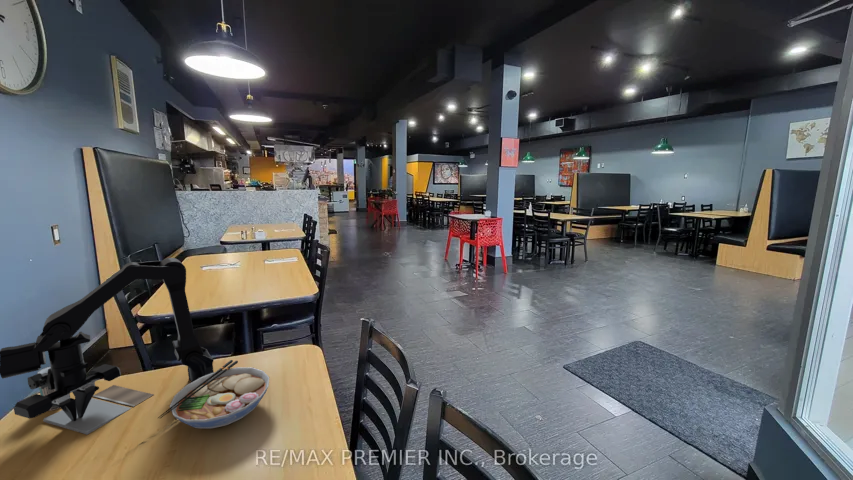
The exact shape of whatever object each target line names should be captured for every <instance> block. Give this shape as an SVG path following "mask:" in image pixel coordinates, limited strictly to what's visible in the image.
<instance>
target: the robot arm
mask: <svg viewBox="0 0 853 480" xmlns="http://www.w3.org/2000/svg"><path fill="white" fill-rule="evenodd" d="M136 280H159V281H160V280H162V281H163V283H164V285H165V287H166V289H167V292H168V294H169V300H170V304H171V308H172V313H173V318H174V323H175V325H176V330H177V340H172V341H171V342H172V344H173V347H174V355H175V357H176V359H177V362H180V361H181V364H182V365H183V366H186V367H187V375H188V379H189V381H190V383H191V382H193V381H195V380H197V379H199V378H201V377H203V376H206V375H208V374H211V373H214V365H213V363H214V359H213V357H212V355H211V354H210V353H209V351H208V349H207V348H204V347H203V346H201V344H200V341H199V340H198V338H197V336H196V334H195V330H194V325H193V321H192V315H191V312H190V306H189V303H188V298H187V292H186V286H187V285H186V284H187V268H186V266H185V265H184V263H182V262H181V261H180V259H177V258H175V257H167V258H164V259H163V260H151V261H143V262H142V261H141V262H140V261H139V262H136V261H135V262H133V261H132V262H127V263H126V264H124V265H123V267H122V268H121V269H119V270H117V272H115V273H114V274H113V275H111V276H109V278H107V279H106V280H105V281H104V282H102V283H101V284H99V285H98V286H97V287H95V288H94V289H93V290H91V291H90V292H89V293H87V294H86V295H85V296H82V298H80V299H79V300H78V301H75V302H73V303H70V304H68V305H66V306H65V307H63V308H61V309H59V310H57V311H56V312H54V313H52V314H50V315H49V316H47V318H46V320H45V322H44V325H43V327H42V332H41V333H40V335H38V336H37V338H36V341H33V342H30V343H25V344H21V345H16V346H7V347H3V348H1V349H0V377H1V378H2V380H4V379H8V378H12V377H16V376H17V377H18V376H20V375H24V374H28V373H32V372H38V371H39V370H41V369H42V365H47V364H46V363H47V358H46V357H47V356H46V355H47V354H46V352H47V353H48V359H49V364H50V365H49V366H51V368H50V369H48V373H47V374H45V375H41V374H40V373H39V374H37V373H36V374H33V375H31V376H28V377H27V385H28V388H29V389H31V390H35V389H39V387H41V389H44V388H45V387H48V389H49V390H53V389H55V392H52V393H50V394H48V395H46V396H42V395H40V393H39V394H38V393H35V394H33V395H31V396H28V397H27V398H24V399H22V400H19V401H17V402H16V403H15V404H14V407H13V411H14V415H15V416H19V417H22V418H25V419H26V418H27V419H33V418H36V417H38V416H41V415H42V414H45V413H47V412H50V411H49V410H50V409H51V407H52V406H55V407H59V408H58V409H61V410H63V411H64V412H65V413H66V414H67V416H68V417H69V418H70V419H71V420H72V421H76V419H77V415H78V417H79V418H82V417H83V415H84V413H85V411H86V409H87V406H88V404H89V402H90V400H91V398H94V397H93V395H95V394H96V392H97V391H99V390H100V387H99V386H97V385H96V382H98V381H100V380H101V379H104V381H107V382H111V381H113V380H115V379H117V378H120V377H121V375H122V373H121V369H120V367H118V366H116V365H111V364H106V363H105V364H102V365H99V366H97V367H95V368H93V369H91V370H90V371H89V372H88V376H87V371H86V368H88V367H89V363H88V362H85V360H84V355H83V348H82V344H86V343H90V342H91V335H90V334H87V333H84V332H83V331H79V330H80V329H81V328H82V327H83V326H84V325H85V323H86V322H87V321H88V320H89V318H90V317H91V316H92V315H93V314H94V313H95V311H97V310H98V309H100V308H101V307H102V306H104V305H105V304H107V302H109V300H111V299H112V298H113V297H115V296H117V294H119V293H121V291H122V290H124V289H125V288H126V287H128V286H129V285H130V284H132V283H133V282H134V281H136ZM78 331H79V332H78ZM77 332H78V333H77ZM71 393H72V394H73V397H74V398H72V397H71ZM76 410H77V411H76Z"/></svg>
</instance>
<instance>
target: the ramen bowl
mask: <svg viewBox="0 0 853 480" xmlns="http://www.w3.org/2000/svg"><path fill="white" fill-rule="evenodd" d="M238 363H239V361H238V360H235V361H233V359H230V360H229V361H227V362H226V363H225V364H224V365H223V366H221V367H220V368H219V369H218V370H216V371H215V372H214V373H211V374H208V375H206V376H203V377H201V378H199V379H197V380H195V381H193V382H191V381H190V382H189V383H187V384H185V386H183V387H182V388H181V389H180V390H179V391H178V392H177V393H176V394H174V396H173V398H172V400H171V402H170V403H169V405H168V406H169V408H168V409H167V410H166V411H164V412H162V414H161V415H159V416H158V417H157V419H159V420H160V419H162V418H163V417H165V416H166V415H167V414H169V413H170V412H171V413H172V415H173V417H174V418H176V420H178V421H179V422H181V423H183V424H186V425H187V426H189V427H192V428H195V429H215V428H219V427H224V426H225V427H226V426H228V425H230V424H231V425H232V423H235V422H237V421H239V420H241V419H242V418H244V417H246V416H247V415H248V414H250V413H251V412H252V411H253V410H255V409H256V408H257V406H258V404H259V403H260V401H261V400H262V399H263V398H264V396H265V395H266V393H267V391H268V389H269V387H270V376H269V375H268V374H267V373H266V372H265V371H264V370H261V369H258V368H254V367H250V366H249V367H248V366H247V367H244V366H243V367H242V366H240V367H239V366H238V367H234V366H235V365H237V364H238Z"/></svg>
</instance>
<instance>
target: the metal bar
mask: <svg viewBox="0 0 853 480" xmlns="http://www.w3.org/2000/svg"><path fill="white" fill-rule="evenodd" d="M153 396H155V394H153V393H150V392H146V391H141V390H137V389H133V388H128V387H125V386H124V387H123V386H119V385H116V384H113V385H111V386H109V387H107V388H105V389H103V390H101V391H99V392H97V393H94V395H93V397H92V398H94V399H98V400H102V401H106V402H110V403H114V404H117V405H121V406H125V407H129V408H134V407H136V406H138V405H140V404H142V403H144V401H146V400H148V399H149V398H151V397H153Z"/></svg>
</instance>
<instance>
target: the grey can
mask: <svg viewBox="0 0 853 480" xmlns="http://www.w3.org/2000/svg"><path fill="white" fill-rule="evenodd" d="M50 368H51V365H49V366H46V367H43V368H40V370H37V373H36V374H39V373H40V374H41V375H45V374H47V373H48V369H50ZM38 390H39V395H42V396H46V395H48V394H50V393H52V392H55V389H53V390H49V389H48V387H45V388H44V389H41V387H38ZM58 409H60V408H59V407H55V406H52V407H51V409H50V410H49V411H48V412H51V411H54V410H58Z"/></svg>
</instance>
